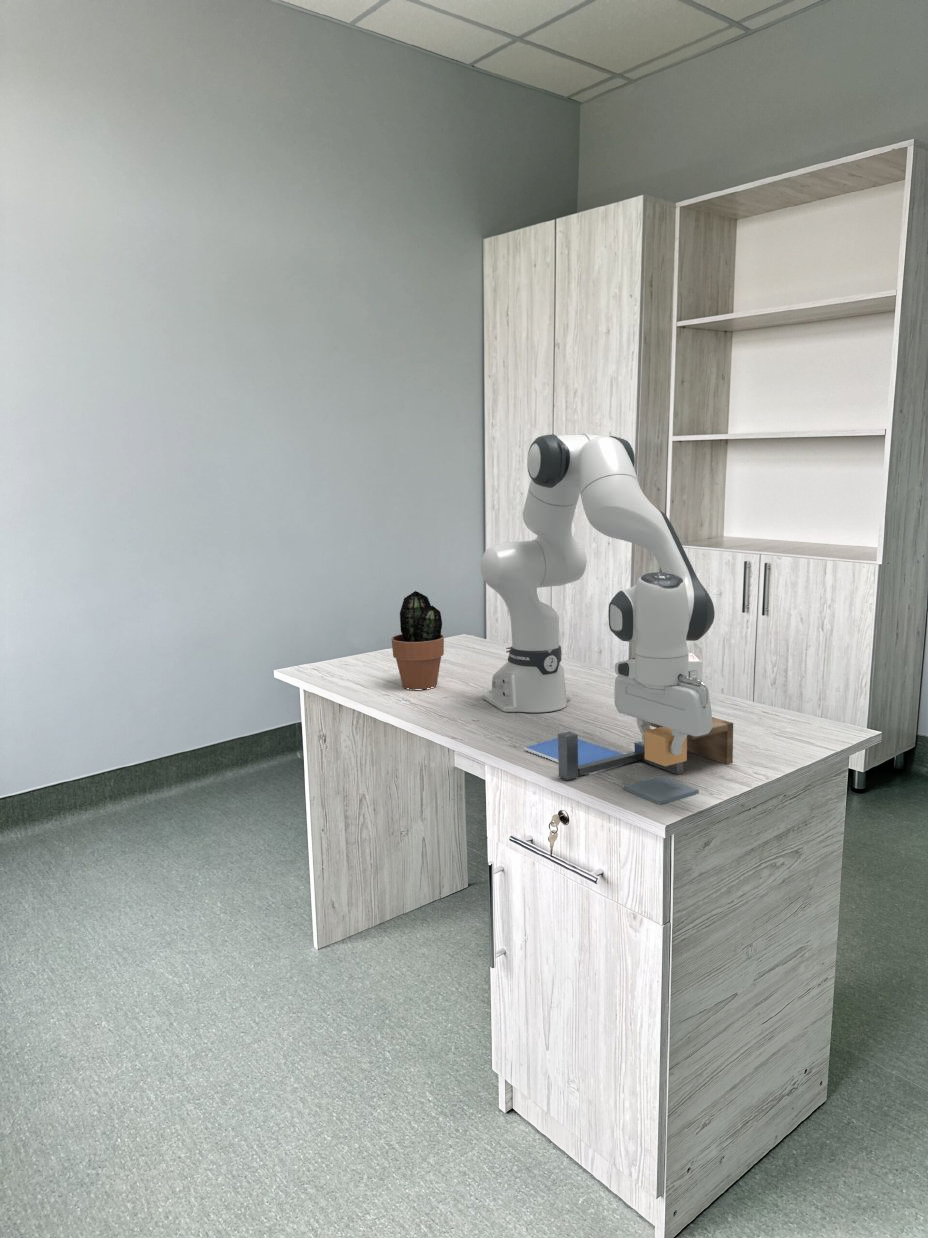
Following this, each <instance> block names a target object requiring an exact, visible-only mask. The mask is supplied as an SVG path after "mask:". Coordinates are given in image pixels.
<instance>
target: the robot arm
mask: <svg viewBox="0 0 928 1238" xmlns="http://www.w3.org/2000/svg"><path fill="white" fill-rule="evenodd" d="M635 458H636V457H635V451H634V449H633V447H632V445H631V443H630V442H629V441H628V440H626V439H624V438H622V437H618V436H613V435H610V436H605V435H599V434H591V433H581V434H559V435H556V434H553V433H551V434H550V433H549V434H544V435H541V436H538V437H536V438H535V439H534V440H533V442H532V443H531V445H530V447H529V450H528V452H527V463H526V464H527V465H526V466H527V467H526V468H527V473H528V475H529V477H530V482H529V485H528V490H527V493H526V498H525V501H524V505H523V511H522V520H523V523H524V525H525V527H526V528H527V529H528V530H529V531H530V532H532V533H533V534H534V535H536V537H535V539H532V540H523V541H508V542H504V543H501V544H500V543H499V544H497V545H492V546H490V547H488V548H487V549H486V550H485V552H483V555H482V556H481V560H480V574H481V576H482V579H483V580H484V582H485V583H486V585H487V586H488V587H490V588H491V589H492V590H494V591H495V592H496V593H497V594H498V595H499V596H500V597H501V599H502V601H503V602H504V603H505V606H506V608H507V610H508V615H509V618H510V619H509V620H510V627H511V628H510V629H511V646H510V647H506V648H505V649H506V651H505V652H506V653H508V657H507V661H506V662H505V664H504V665H502V666H501V667H500V668H499V669H498V670H497V671H495V673H494V674H493V675H492V679H491V690H488V691H487V692H486V691H485V692H484V693H482V696H481V697H482V699H483V700H484V701H486V702H488V703H490V704H491V705H493V706H494V707H496V708H498V709H499V710H500V711H502V712H506V713H509V712H511V713H514V712H515V713H516V712H521V713H547V712H554V711H559V710H562V709H564V708H566V707H567V706H568V701H570V700H571V698H570V695H569V694H567V687H566V677H565V670H564V667H563V665H562V664H561V662H562V654H563V652H562V647H561V645H560V617H559V615H558V613H557V611H556V610H555V609H554V608H553V606H550V604H549V605H548V604H547V603H544V602H543V601H541V600H540V598H539V596H538V591H537V590H538V589H539V588H549V587H561V586H564V585H568V584H571V583H574V582H577V581H579V580H580V579H582V577H583V576H584V574H585V571H586V569H587V555H586V553H585V550H584V548H583V546H582V545H581V544H580V543H579V542H578V541H577V540H575V538H574V537H573V532H572V528H573V527H572V525H573V522H574V517H575V512H576V509H577V506H578V502H579V498H580V499H581V502H582V507H583V510H584V511H583V512H584V514H585V516H586V518H587V520H588V523H589V524H590V525H591V527H592V528H593V529H595V530H596V531H597V532H599V533H600V534H603V535H604V536H607V537H609V538H612V539H616V540H620V541H624V542H628V543H631V544H634V545H637V546H639V547H642V548H643V549H646V550H647V551H648V552H649V553H651V554H652V555H653V556H654V558H655V560H656V561H657V564H658V566H659V568H660V570H661V572H660V571H659V572H658V571H657V572H648V573H644V574H642V575H641V576H640V577H639V578H638V579H637V583H636V584H635V585H633V586H631V587H629V588H625V589H623V590H619V591H618V592H616V594H615V595H614V596H613V597H612V598H611V601H609V603H608V626H609V627H608V628H609V630H610V632H612V634H614V635H613V636H615V637H616V638H618V639H619V640H620V641H622V642H628V643H636V647H635V652H634V657H632V658H631V659H625V660H621V661H618V662H616V663H615V664H614V673H615V674H616V675H617V676H616V677H615V681H614V691H613V692H614V707H616V708H615V709H616V710H617V712H618V713H619V714H622V715H626V716H628V717H631V718H634V719H636V724H637V727H638V730H639V732H640V734H641V742H642V743H643V744H645V731H647V730H651V729H652V728H651V726H650V725H649V723H654V724H657V725H660V726H663V727H666V728H669V729H672V735H673V736H675V737H674V740H673V742H672V743H668V748H669V749H668V752H669V753H671V754H674V755H678V754H681V753H682V744H683V742H684V740H685V738H686V737H687V735H691V736H695V737H696V736H701V735H705V734H708V733H709V732H710V731H711V729H712V717H713V711H712V705H711V703H712V702H711V698H710V692H709V691H710V690H709V688H708V687H707V685H706V684H705V683H704V682H703V679H702V680H700V679H697V678H691V677H689V653H690V651H689V647H688V644H687V642H688V641H689V642H691V641H692V642H694V641H695V642H696V641H698V640H700V639H702V638H703V637H704V636H705V634H707V632H709V630H710V628H711V627H712V625H714V621H715V615H716V614H715V613H716V611H715V607H714V602H713V600H712V598H711V596H710V594H709V592H708V591H707V589H706V588H705V586H704V585H703V584H702V582H701V581H700V579H699V578H698V576H697V573H696V572H695V570H694V567H693V565H692V564H691V561H690V559H689V557H688V555H687V553H686V551H685V548H684V547H683V545H682V542H681V541H680V539H679V537H678V535H677V532H676V530H675V528H674V527H673V525H672V522H671V521H670V519H669V517H668V516H667V514H665V512H663V511H662V510H660V509H659V508H657V507H656V506H655V505H653V504H652V503H651V501H650V500H649V499H648V498H647V496H646V495H645V494H644V492H643V490H642V489H641V486H640V483H639V479H638V476H637V472H636V470H635V466H636V465H635V464H636V459H635ZM701 685H702V686H701Z"/></svg>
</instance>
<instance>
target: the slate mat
mask: <svg viewBox="0 0 928 1238" xmlns="http://www.w3.org/2000/svg"><path fill="white" fill-rule="evenodd" d="M622 787H623V788H622V789H623V790H625V791H627V792H629V793H631V794H634V795H636V796H638V797H641V798H643V799H646V800H648V801H650V802H652V803H655V804H658V805H660V806H661V805H663V804H666V803H670V802H673V801H677V800H680V799H683V798H687V797H690V796H695V795H697V794H699V793H700V790H699V789H698V788H696V787H693V786H690V785H688V784H685V783H682V782H679V781H678V780H675V779H672V778H670V777H667V776H665V775H657V776H655V777H651V778H648V779H644V780H639V781H636V782H632V783H629V784H626V785H623V786H622Z"/></svg>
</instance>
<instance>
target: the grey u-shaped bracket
mask: <svg viewBox="0 0 928 1238" xmlns="http://www.w3.org/2000/svg"><path fill="white" fill-rule="evenodd" d="M578 735H579V734H578V733H575V732H572V731H570V730H568V731H565V732H561V733H557V738H558V762H559V763H558V777H559V778H561V779H564V780H566V781H570V780H573V779H576V778H579V776H584V775H589V774H588V773H592V772H596V771H600V770H603V769H607V768H611V767H614V768H616V767H615V766H618V767H620V766H619V765H621V766H623V764H624V765H627V764H630V763H633V762H637V761H642V762H643V763H647V764H649V765H652V766H654V767H656V768H657V767H658V768H660V769H663V770H666V771H668V772H670V773H673V774H675V775H678V774H682V773H684V762H680V763H676V764H672V765H669V766H663V765H660V764H657V763H654V762H652V761H649V760H646V759H645V744H643V743H642V741H636V742H634V751H632V752H631V751H630V752H627V753H623V755H619V756H615V757H611V758H607V759H603V760H599V761H595V762H591V763H587V764H583V765H579V766H578V739H579V738H578V737H579V736H578ZM611 769H612V768H611Z"/></svg>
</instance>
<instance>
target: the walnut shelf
mask: <svg viewBox="0 0 928 1238" xmlns="http://www.w3.org/2000/svg"><path fill="white" fill-rule="evenodd" d="M649 725H650V727H653V728H659V727H663V726H660V725H657V724H654V723H649ZM687 752H690V753H693V754H696V755H699V756H701V757H702V756H703V757H705V758H707V759H711V760H713V761H716V762H720V763H722V764H725V765H730V764H733V762H734V761H733V759H734V722H731V721H727V720H724V719H720V718H716V717H713V716H712V729H711V731H710V732H709V733H708V734H705V735H701V736H696V737H695V736H691V735H687Z"/></svg>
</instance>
